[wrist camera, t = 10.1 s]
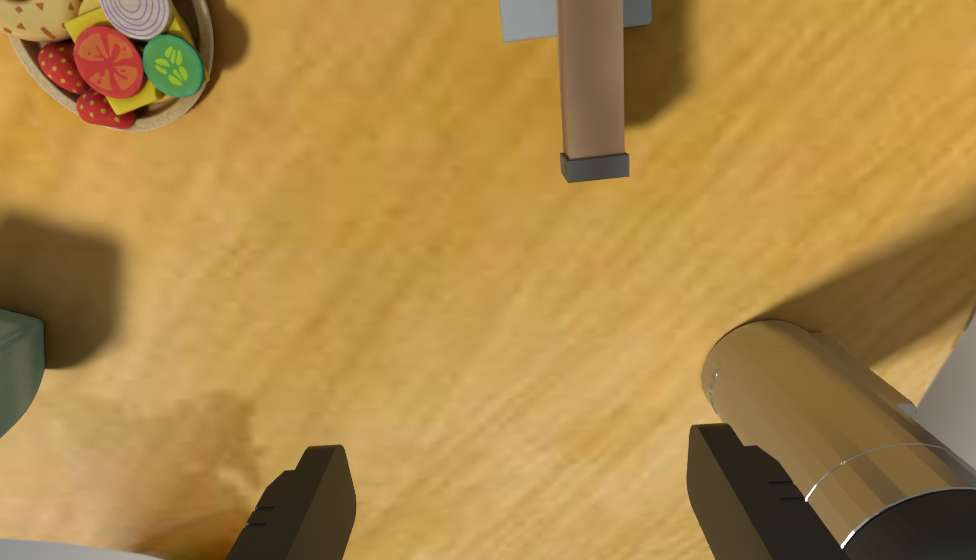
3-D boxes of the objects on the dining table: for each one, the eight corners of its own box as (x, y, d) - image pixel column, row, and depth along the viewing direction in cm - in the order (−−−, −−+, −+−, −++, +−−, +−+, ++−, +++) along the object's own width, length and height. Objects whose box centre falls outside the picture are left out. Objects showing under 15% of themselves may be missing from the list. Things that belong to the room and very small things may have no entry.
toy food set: (-36, -57, 31) (-94, -72, 28) (151, -147, 29) (111, -173, 26) (95, 155, 35) (58, 163, 32) (263, 89, 34) (240, 90, 31)
